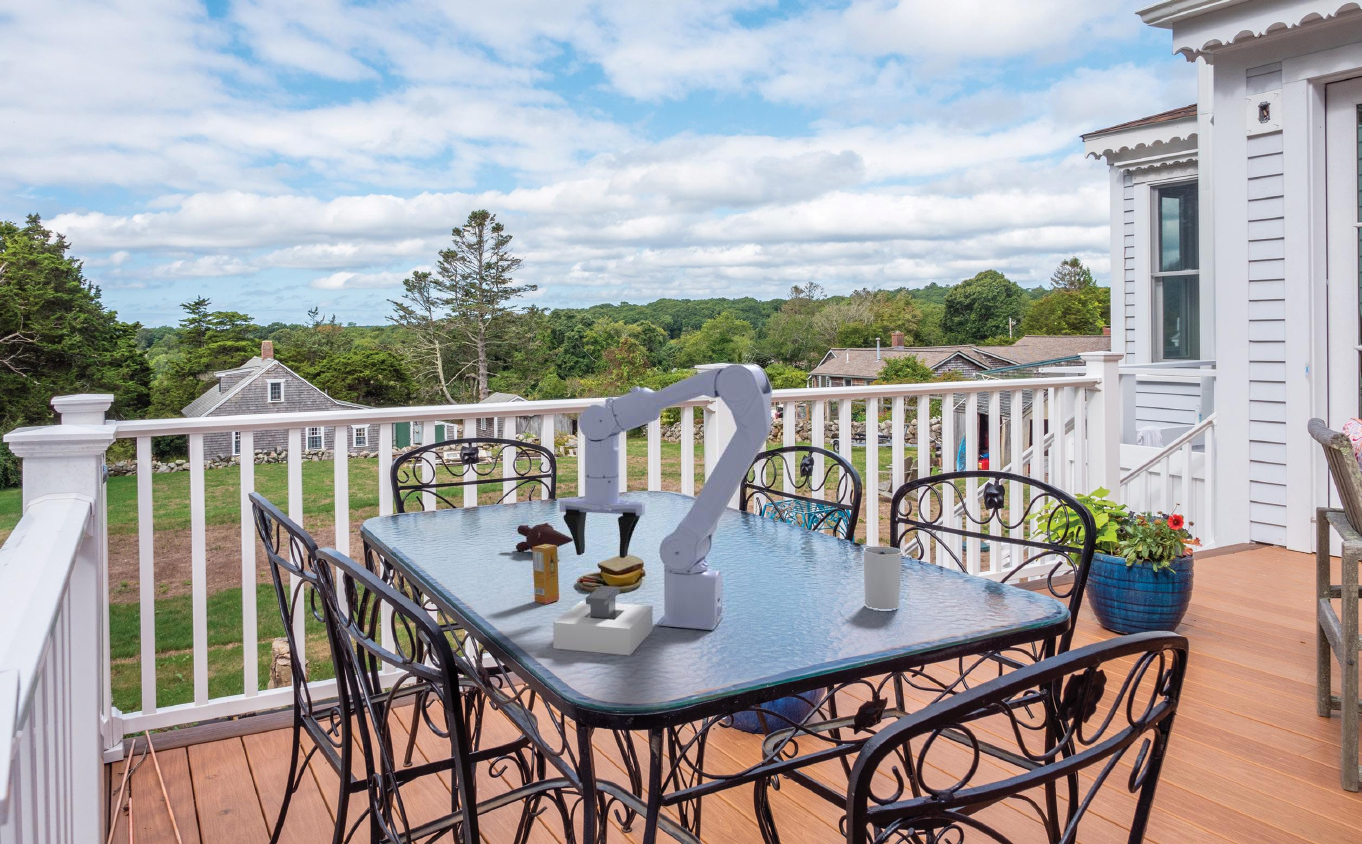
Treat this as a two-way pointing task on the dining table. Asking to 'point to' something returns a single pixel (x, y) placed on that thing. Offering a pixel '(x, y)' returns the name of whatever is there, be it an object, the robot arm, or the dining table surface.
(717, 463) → the robot arm
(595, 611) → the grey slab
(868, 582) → the drinking glass
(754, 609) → the dining table surface
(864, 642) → the dining table surface
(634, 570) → the toy sandwich meal
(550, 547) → the supplement box
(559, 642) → the well block
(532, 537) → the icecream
